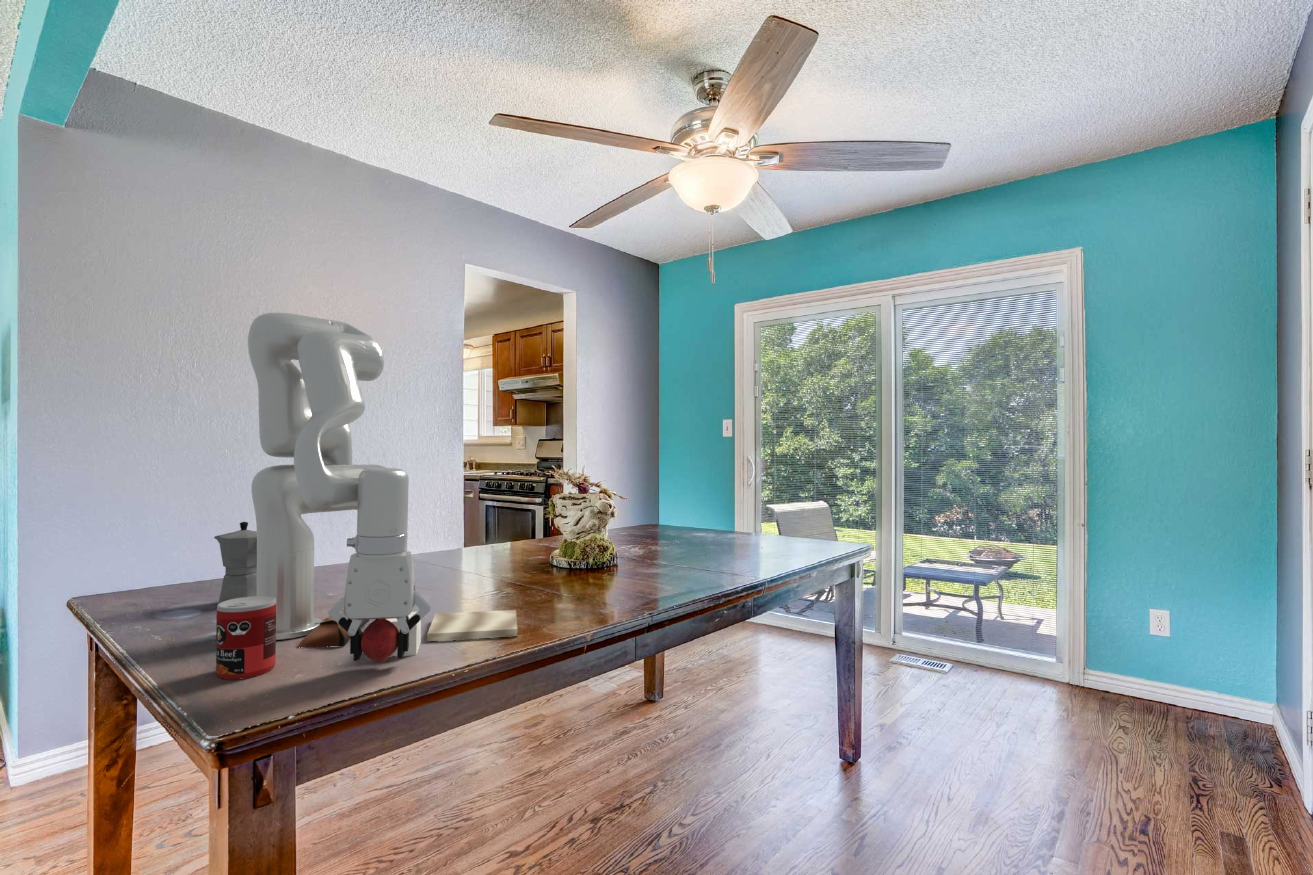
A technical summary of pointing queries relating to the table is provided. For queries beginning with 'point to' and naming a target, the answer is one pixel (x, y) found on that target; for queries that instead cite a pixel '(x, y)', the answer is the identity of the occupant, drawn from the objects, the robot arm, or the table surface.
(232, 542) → the coffeepot
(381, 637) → the onion
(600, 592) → the table surface
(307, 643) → the sunglasses case
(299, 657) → the table surface
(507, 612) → the birch board
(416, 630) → the letter cube
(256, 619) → the canned food
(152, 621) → the table surface
